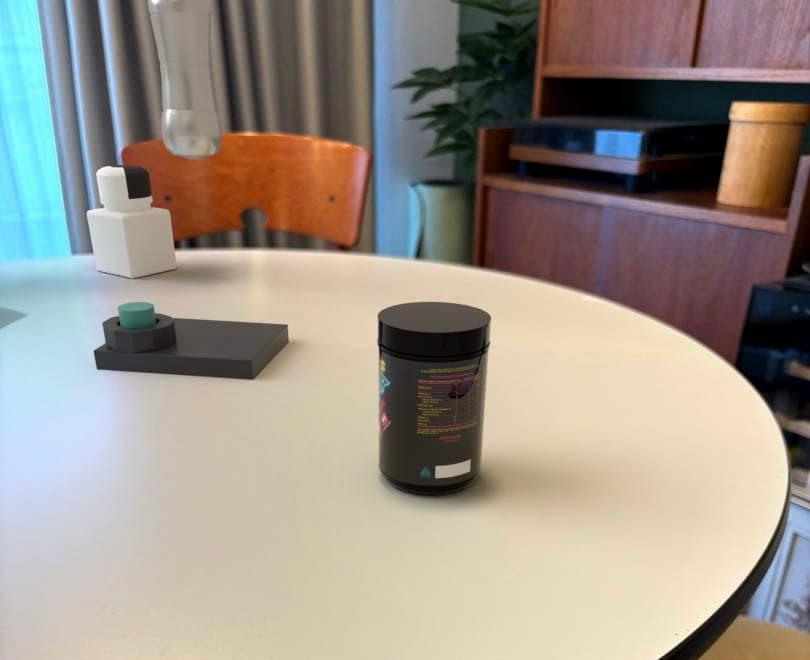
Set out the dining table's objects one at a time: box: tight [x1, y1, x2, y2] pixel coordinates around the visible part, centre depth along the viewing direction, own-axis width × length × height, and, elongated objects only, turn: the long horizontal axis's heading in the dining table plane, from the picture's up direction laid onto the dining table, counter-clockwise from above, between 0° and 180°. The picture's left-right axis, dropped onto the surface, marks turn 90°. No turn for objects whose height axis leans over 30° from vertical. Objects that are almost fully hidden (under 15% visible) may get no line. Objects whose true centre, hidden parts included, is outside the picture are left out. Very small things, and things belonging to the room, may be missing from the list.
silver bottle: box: [147, 0, 223, 160], centre depth 88 cm, size 6×7×20 cm
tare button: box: [117, 301, 157, 328], centre depth 71 cm, size 3×3×2 cm
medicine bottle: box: [86, 164, 177, 279], centre depth 101 cm, size 7×7×12 cm
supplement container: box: [376, 301, 492, 495], centre depth 51 cm, size 7×7×10 cm
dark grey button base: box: [93, 312, 290, 381], centre depth 74 cm, size 14×11×4 cm
